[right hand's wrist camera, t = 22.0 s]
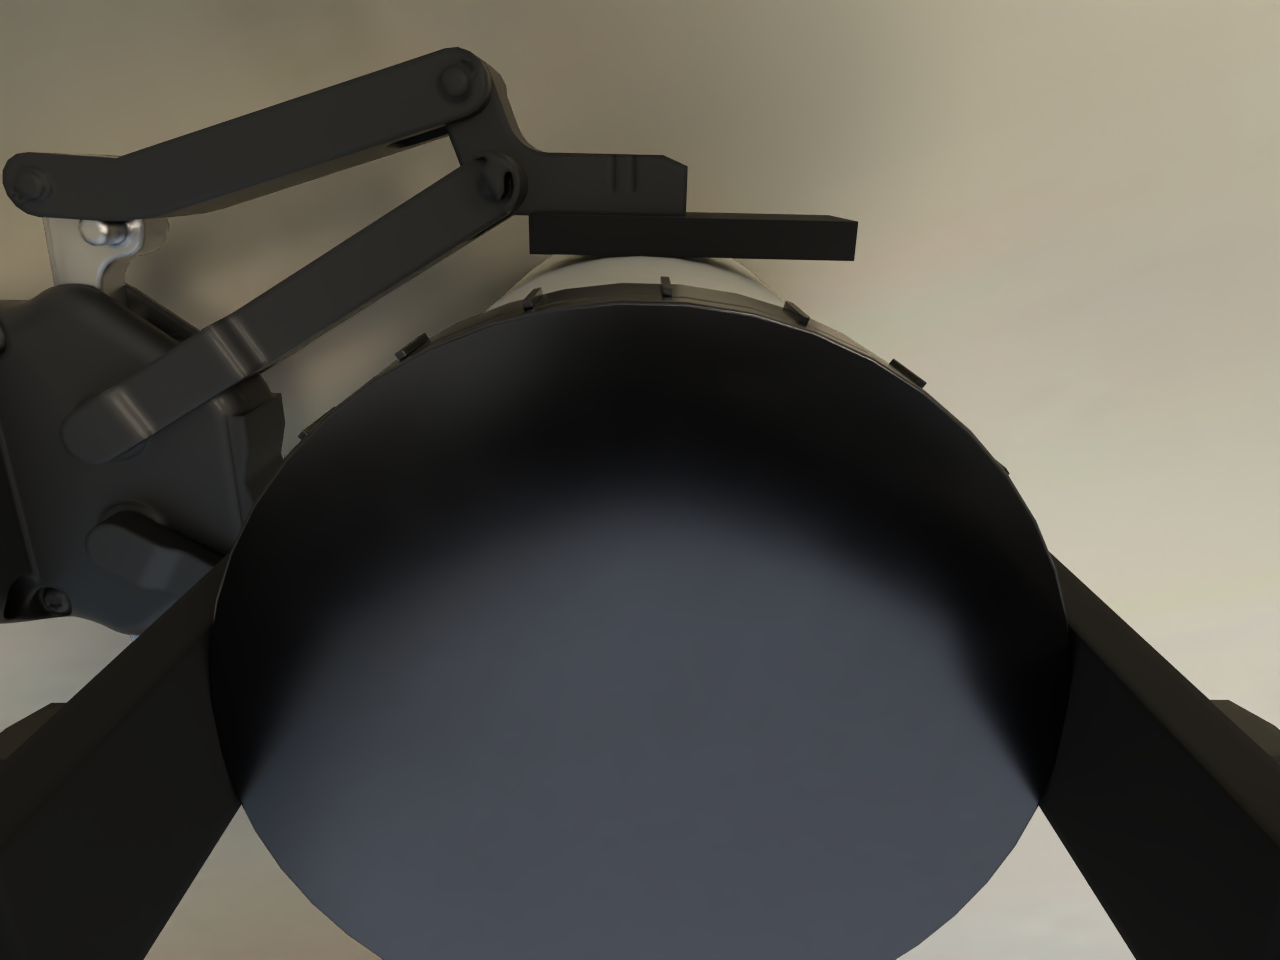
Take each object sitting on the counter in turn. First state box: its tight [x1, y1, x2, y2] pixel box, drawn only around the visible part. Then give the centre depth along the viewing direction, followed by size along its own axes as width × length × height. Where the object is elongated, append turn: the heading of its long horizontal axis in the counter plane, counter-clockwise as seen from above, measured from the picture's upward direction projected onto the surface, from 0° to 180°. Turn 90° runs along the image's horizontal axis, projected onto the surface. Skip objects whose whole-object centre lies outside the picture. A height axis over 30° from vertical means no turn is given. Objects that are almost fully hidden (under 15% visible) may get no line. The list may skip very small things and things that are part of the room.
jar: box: [485, 254, 785, 312], centre depth 18 cm, size 10×10×15 cm
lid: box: [209, 276, 1071, 960], centre depth 11 cm, size 11×11×2 cm
